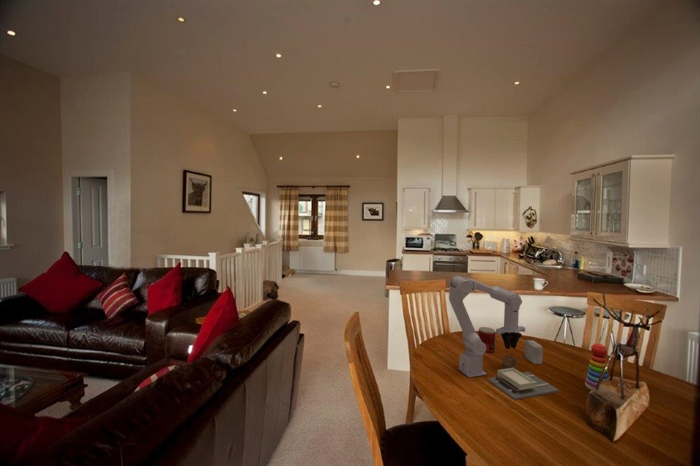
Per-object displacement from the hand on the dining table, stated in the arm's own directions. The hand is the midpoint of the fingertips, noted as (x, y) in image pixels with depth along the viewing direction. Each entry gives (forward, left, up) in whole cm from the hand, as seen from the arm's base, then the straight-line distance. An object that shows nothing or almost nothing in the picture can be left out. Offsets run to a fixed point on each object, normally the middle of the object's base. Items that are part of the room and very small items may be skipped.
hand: (510, 348), depth 138 cm
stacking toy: (+23, -22, -11) cm, 34 cm away
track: (-5, -12, -10) cm, 17 cm away
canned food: (+5, +21, -11) cm, 24 cm away
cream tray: (-8, -12, -9) cm, 17 cm away
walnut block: (0, 0, -10) cm, 10 cm away
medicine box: (+19, +5, -11) cm, 22 cm away
